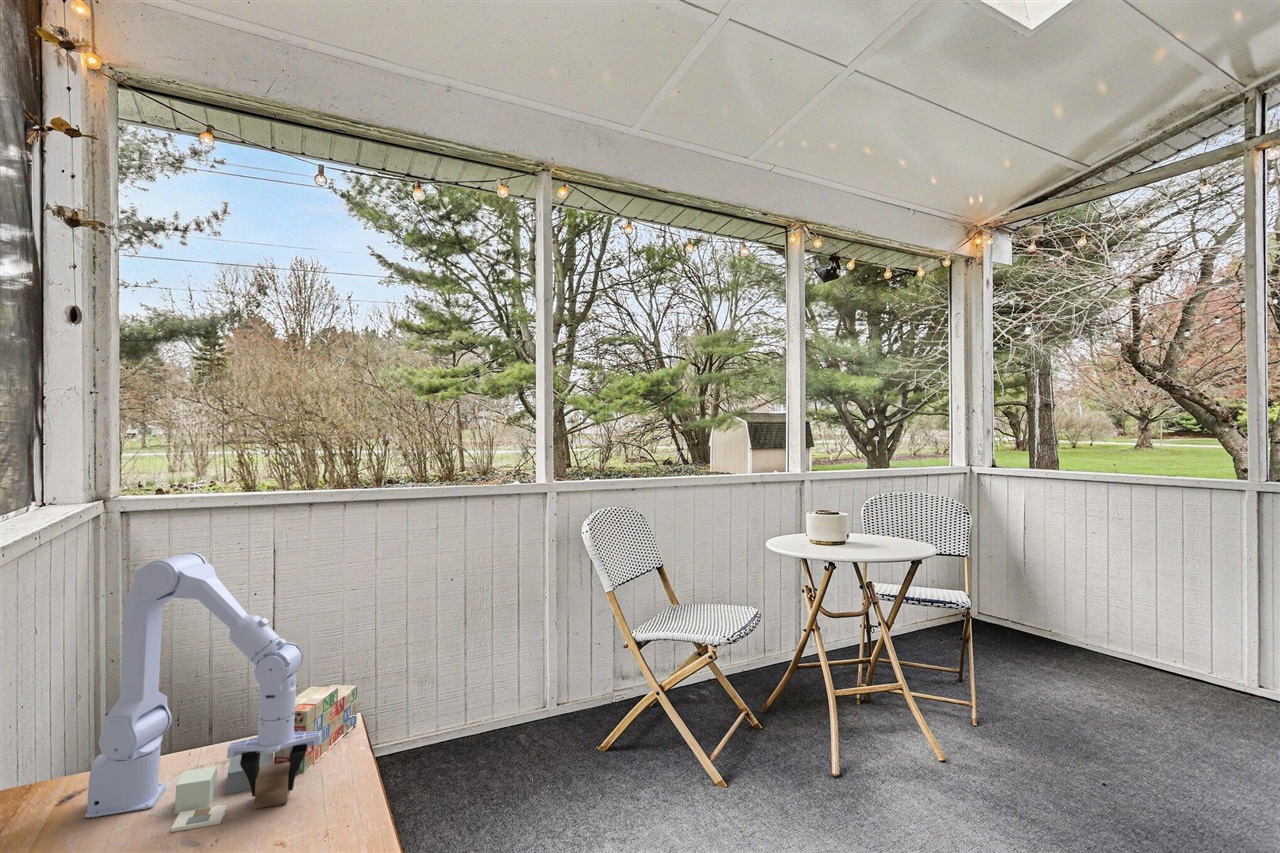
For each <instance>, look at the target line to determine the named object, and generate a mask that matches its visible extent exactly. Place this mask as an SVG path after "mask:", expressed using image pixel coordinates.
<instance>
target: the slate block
mask: <svg viewBox="0 0 1280 853" xmlns="http://www.w3.org/2000/svg"><path fill="white" fill-rule="evenodd" d="M240 761H241V755H238V756H235V757H234V758H230V761H229V766H228V771H227V781H226V782H227V783H226V795H230V794H234V793H240V792H245V791H249V790H251V787H250V783H249V780H248V778H247V776H246V774H245V772H244V770H243V769H242V768H241V765H240ZM267 765H274V752H272V753H266V752H260V762H259V770H260V767H261V766H267Z"/></svg>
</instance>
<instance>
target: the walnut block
mask: <svg viewBox="0 0 1280 853" xmlns="http://www.w3.org/2000/svg"><path fill="white" fill-rule="evenodd" d="M289 775H290V762H288V763H281V764H274V763H273V764H272V765H267V766H261V767H260V770H259V773H258V775H257V778H256V784H255V796H254V805H253V806H254V807H253V809H254V810H255V809H263V808H267V807H273V806H274V807H275V806H278V805H280V806H281V805H285V804H287V803H288V799H289V796H290V793H291V791H288V783H289Z"/></svg>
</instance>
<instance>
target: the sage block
mask: <svg viewBox="0 0 1280 853" xmlns="http://www.w3.org/2000/svg"><path fill="white" fill-rule="evenodd" d="M217 777H218V766H217V765H216V766H211V767H205V768H204V767H203V768H197V769H190V770H184V772H183V773H182V775H181V776H180V778H179V780H177V783H176V785H175V797H174V798H175V799H174V800H175V801H174V815H177V814H179V813H180V812H184V811H190V810H196V809H202V808H208V807H211V805H212V802H213V800H214V799H215V796H216V794H217V780H218V779H217Z"/></svg>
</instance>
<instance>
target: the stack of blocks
mask: <svg viewBox="0 0 1280 853" xmlns="http://www.w3.org/2000/svg"><path fill="white" fill-rule="evenodd" d="M357 711H358V685H352V684H351V685H349V684H343V685H341V684H330V686H310V687H308V688H307V689H305V690H304V691H303V692H302V691H301V693H299V694H298V695H296V700H295V720H294V732H316V731H321V738H320V745H319V746H313V745H310V746H307V750H306V754H305V756H304V758H303V760H302V762H301V764H300V766H299V768H298V770H297V773H298V772H304V773H306V772H307V771H308V770H309V769H310V768H311V767H312V766H313V765H312V764H313V763H314V762H315V761H316V760H317V759H318V758H319V757H320V756H321V755H322V754H323V753H324V752H326V751H327V750H328V749H329V746H331V745H332V744H333V743H334V742H335V741H336V740H337V739H338V738H339V737H340V736H341V735H342V734H344V733H346V732H347V731H348V730H349V729H350V728H351V727H352V726H354V725H355V724H356V725H357V718H358V717H357V716H353V715H358V712H357ZM349 716H352V717H349ZM291 750H292V748H288V749H281V750H279V751H278V752H274V756H273V765H274V764H281V763H288V762H290V753H291ZM311 765H312V766H311ZM310 766H311V767H310ZM309 767H310V768H309ZM308 768H309V769H308ZM307 769H308V770H307ZM306 770H307V771H306Z"/></svg>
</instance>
